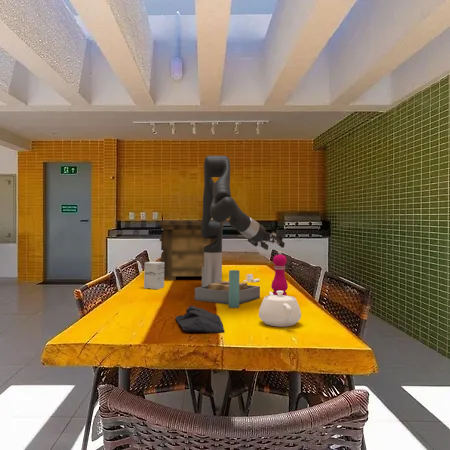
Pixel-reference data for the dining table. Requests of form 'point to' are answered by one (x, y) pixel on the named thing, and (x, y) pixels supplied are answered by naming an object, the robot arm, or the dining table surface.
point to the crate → (182, 248)
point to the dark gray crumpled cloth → (200, 321)
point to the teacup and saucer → (251, 278)
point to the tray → (226, 294)
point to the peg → (233, 288)
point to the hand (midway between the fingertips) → (275, 246)
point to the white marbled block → (154, 275)
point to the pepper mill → (279, 274)
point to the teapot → (279, 310)
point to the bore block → (225, 286)
